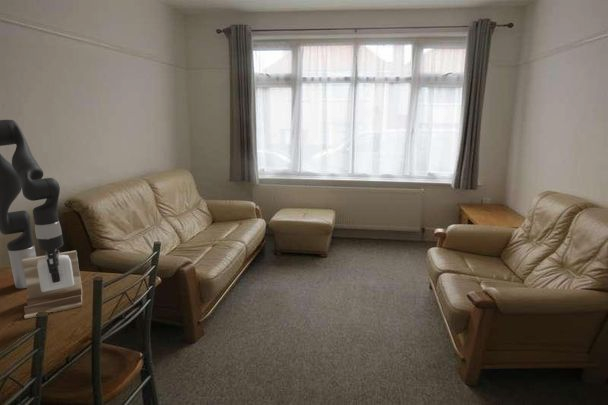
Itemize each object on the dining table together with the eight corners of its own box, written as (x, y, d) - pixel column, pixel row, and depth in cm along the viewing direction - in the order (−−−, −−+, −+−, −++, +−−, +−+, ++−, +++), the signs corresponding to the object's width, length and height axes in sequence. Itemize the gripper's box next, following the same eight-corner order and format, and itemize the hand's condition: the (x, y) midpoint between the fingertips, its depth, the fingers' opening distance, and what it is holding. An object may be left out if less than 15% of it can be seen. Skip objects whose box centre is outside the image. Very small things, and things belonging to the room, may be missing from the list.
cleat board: (30, 300, 147) (22, 258, 143) (82, 290, 156) (76, 250, 152) (24, 318, 134) (15, 273, 130) (81, 306, 143) (74, 262, 139)
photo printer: (74, 282, 139) (69, 251, 136) (75, 286, 135) (69, 254, 132) (41, 289, 133) (35, 257, 130) (41, 293, 130) (35, 261, 127)
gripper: (38, 231, 134) (46, 274, 138) (33, 242, 122) (42, 289, 126) (62, 227, 137) (69, 270, 141) (60, 238, 125) (68, 284, 129)
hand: (56, 279), depth 133 cm, fingers closed on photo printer, 4 cm apart
